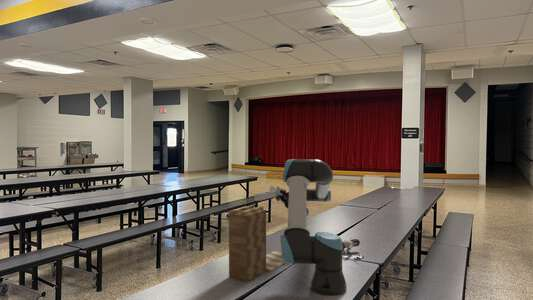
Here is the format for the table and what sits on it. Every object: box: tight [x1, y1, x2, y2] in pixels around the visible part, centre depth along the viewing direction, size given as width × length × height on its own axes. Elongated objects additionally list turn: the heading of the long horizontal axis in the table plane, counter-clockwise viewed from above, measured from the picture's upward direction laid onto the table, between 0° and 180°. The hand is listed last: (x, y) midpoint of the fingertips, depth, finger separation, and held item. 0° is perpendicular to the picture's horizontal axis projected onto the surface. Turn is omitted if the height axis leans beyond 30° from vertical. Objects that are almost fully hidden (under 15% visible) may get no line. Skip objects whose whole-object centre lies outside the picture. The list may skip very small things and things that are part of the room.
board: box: [266, 250, 287, 272], centre depth 192 cm, size 26×14×1 cm, turn 146°
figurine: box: [342, 238, 361, 256], centre depth 205 cm, size 22×7×30 cm
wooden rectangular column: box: [228, 204, 267, 283], centre depth 173 cm, size 16×10×32 cm, turn 146°
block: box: [253, 188, 286, 202], centre depth 188 cm, size 24×3×3 cm, turn 146°
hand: (273, 188), depth 191 cm, fingers closed on block, 3 cm apart
